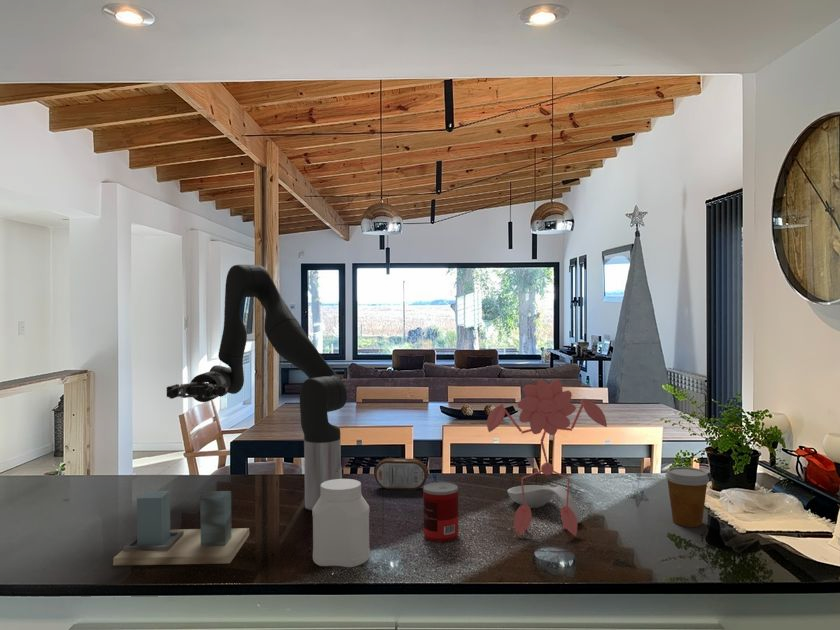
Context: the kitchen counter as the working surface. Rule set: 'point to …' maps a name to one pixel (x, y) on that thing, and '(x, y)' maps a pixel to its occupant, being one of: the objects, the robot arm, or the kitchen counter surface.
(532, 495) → the spoon rest
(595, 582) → the kitchen counter surface
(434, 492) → the canned food
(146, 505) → the pillar
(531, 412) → the figurine
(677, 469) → the disposable coffee cup
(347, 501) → the jar
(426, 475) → the tin
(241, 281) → the robot arm
